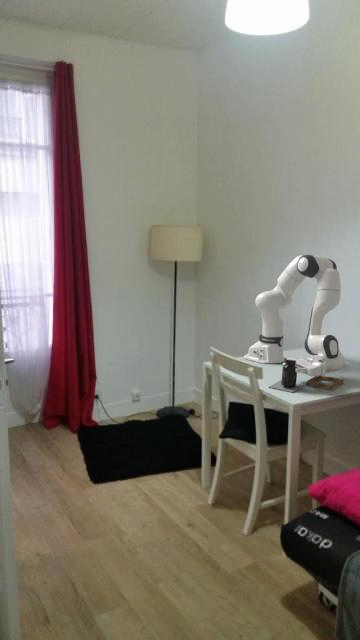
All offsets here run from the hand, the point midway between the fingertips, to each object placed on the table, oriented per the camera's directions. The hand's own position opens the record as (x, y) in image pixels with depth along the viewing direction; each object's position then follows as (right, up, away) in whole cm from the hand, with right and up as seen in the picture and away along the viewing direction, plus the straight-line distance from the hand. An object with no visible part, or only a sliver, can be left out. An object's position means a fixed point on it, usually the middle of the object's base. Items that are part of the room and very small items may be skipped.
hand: (289, 368), depth 248 cm
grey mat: (-1, -9, +1) cm, 9 cm away
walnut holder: (+18, -8, +5) cm, 21 cm away
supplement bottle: (-1, -8, -1) cm, 8 cm away
